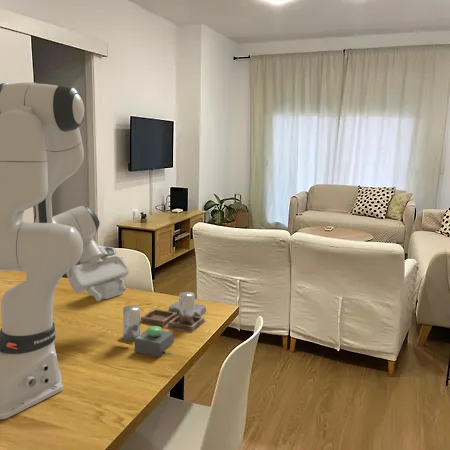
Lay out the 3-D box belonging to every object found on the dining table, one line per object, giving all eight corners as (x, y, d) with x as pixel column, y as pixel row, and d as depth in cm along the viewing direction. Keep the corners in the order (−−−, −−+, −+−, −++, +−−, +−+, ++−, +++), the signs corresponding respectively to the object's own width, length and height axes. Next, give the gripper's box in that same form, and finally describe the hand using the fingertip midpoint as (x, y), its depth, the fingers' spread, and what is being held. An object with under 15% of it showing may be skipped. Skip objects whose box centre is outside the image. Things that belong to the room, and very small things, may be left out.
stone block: (177, 313, 163) (165, 317, 153) (179, 299, 163) (167, 303, 153) (208, 319, 159) (198, 323, 150) (210, 305, 159) (200, 309, 150)
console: (159, 357, 124) (159, 343, 123) (134, 351, 127) (134, 338, 126) (173, 345, 131) (173, 332, 131) (149, 340, 134) (149, 328, 134)
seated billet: (189, 328, 142) (190, 297, 140) (175, 325, 144) (176, 295, 142) (196, 322, 146) (197, 293, 145) (183, 320, 148) (183, 290, 147)
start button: (156, 349, 126) (157, 332, 126) (144, 346, 128) (144, 330, 127) (164, 344, 130) (164, 327, 129) (152, 341, 131) (152, 325, 131)
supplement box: (123, 294, 176) (123, 256, 173) (106, 300, 168) (105, 261, 166) (107, 289, 180) (106, 253, 178) (89, 295, 173) (88, 257, 170)
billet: (134, 345, 131) (134, 312, 129) (119, 341, 133) (119, 309, 131) (143, 338, 136) (143, 306, 134) (128, 335, 137) (128, 304, 136)
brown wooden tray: (191, 336, 138) (191, 328, 138) (138, 325, 145) (138, 318, 145) (206, 323, 149) (206, 316, 148) (156, 314, 156) (156, 307, 155)
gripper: (66, 259, 129) (90, 298, 126) (118, 247, 146) (140, 281, 143) (56, 271, 132) (80, 310, 129) (108, 258, 150) (130, 292, 146)
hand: (112, 295), depth 136 cm, fingers open, 8 cm apart
